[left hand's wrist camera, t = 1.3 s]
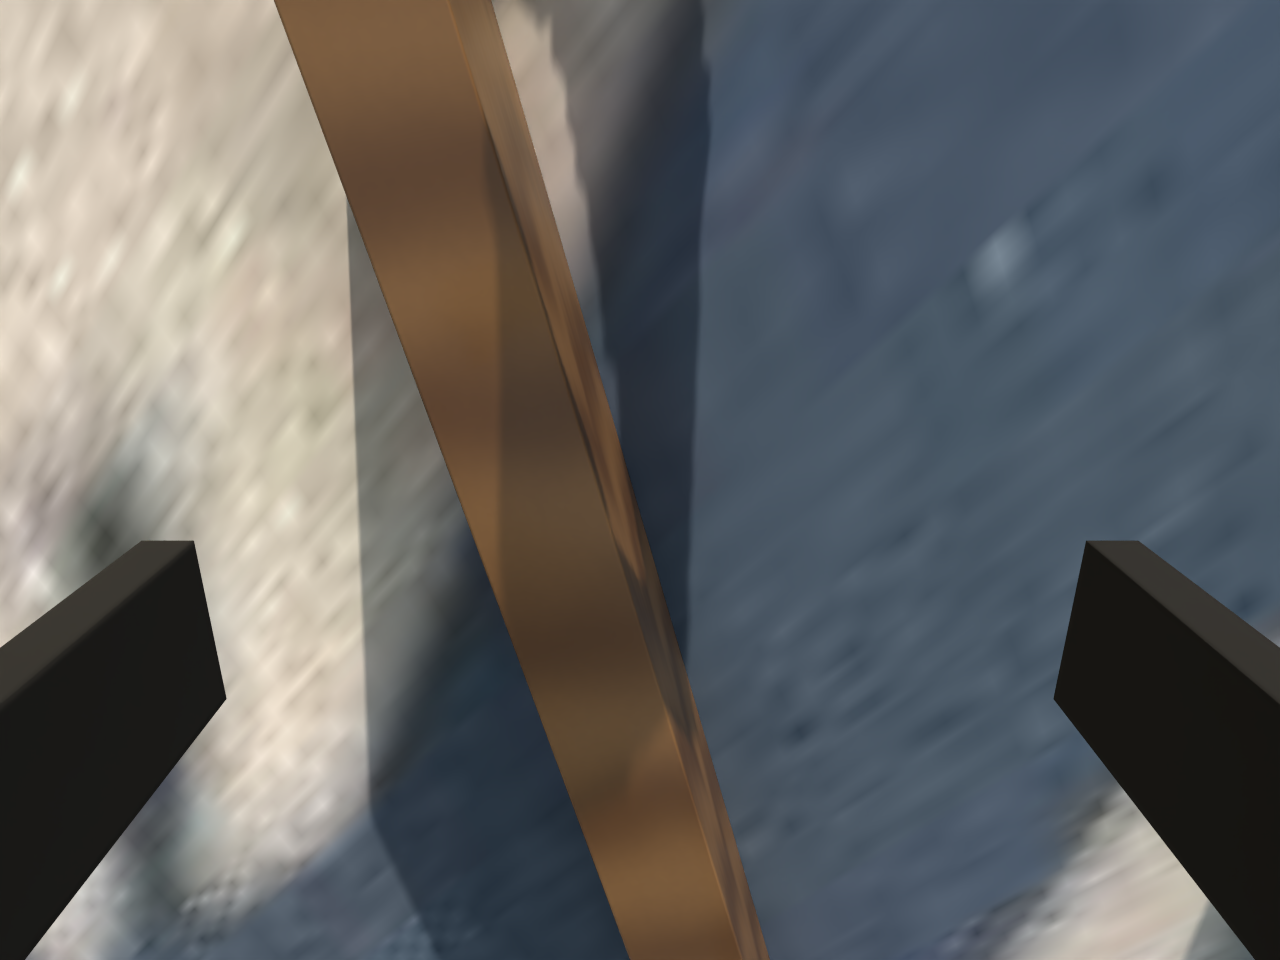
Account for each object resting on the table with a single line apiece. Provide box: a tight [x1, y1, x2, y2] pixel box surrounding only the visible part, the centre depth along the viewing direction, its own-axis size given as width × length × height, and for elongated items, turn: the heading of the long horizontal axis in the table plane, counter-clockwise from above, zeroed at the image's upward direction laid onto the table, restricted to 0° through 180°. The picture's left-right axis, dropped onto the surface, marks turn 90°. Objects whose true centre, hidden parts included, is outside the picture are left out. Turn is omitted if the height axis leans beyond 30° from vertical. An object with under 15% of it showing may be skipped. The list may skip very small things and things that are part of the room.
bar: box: [274, 0, 770, 960], centre depth 34 cm, size 71×4×8 cm, turn 15°
